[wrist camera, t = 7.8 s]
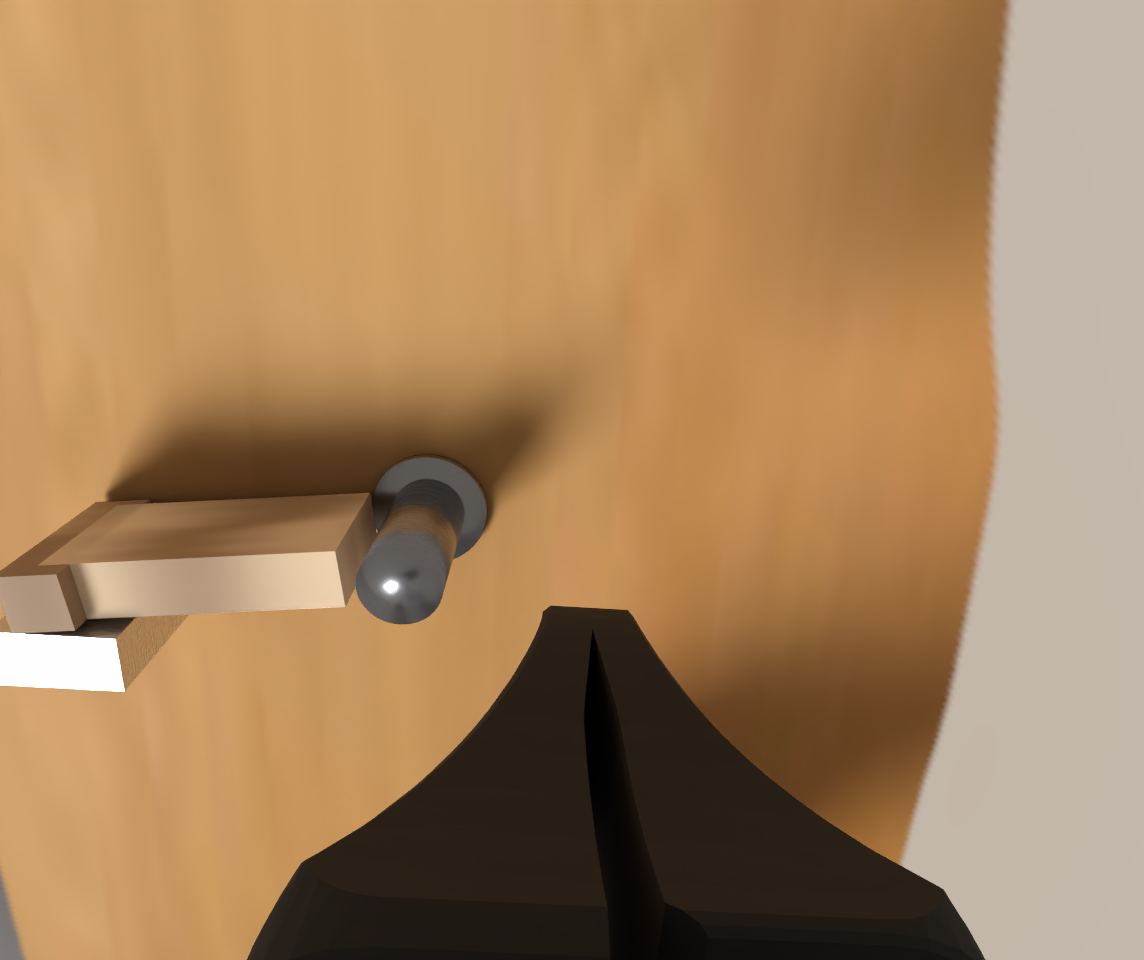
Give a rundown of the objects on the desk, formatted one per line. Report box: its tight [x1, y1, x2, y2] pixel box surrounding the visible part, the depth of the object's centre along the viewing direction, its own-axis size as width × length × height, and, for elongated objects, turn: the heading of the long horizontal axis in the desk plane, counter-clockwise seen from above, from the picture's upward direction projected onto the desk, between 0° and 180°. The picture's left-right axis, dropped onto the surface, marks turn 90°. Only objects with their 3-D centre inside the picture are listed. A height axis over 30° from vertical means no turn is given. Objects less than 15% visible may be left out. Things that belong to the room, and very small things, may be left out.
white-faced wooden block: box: [0, 614, 189, 691], centre depth 21 cm, size 2×3×4 cm, turn 86°
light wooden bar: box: [0, 493, 377, 634], centre depth 20 cm, size 8×2×4 cm, turn 93°
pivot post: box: [356, 455, 487, 624], centre depth 20 cm, size 3×3×4 cm
